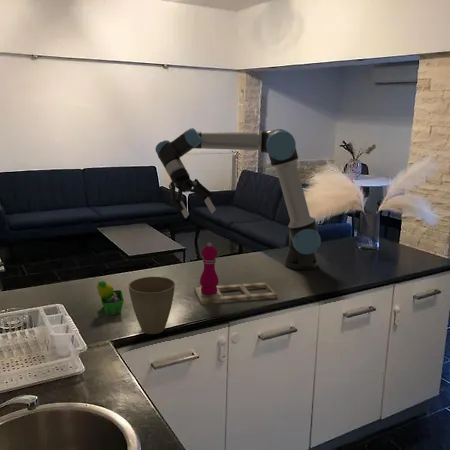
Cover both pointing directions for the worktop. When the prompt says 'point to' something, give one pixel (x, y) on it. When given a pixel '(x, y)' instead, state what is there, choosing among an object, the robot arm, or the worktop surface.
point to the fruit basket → (110, 298)
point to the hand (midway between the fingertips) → (200, 213)
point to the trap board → (242, 287)
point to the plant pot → (152, 302)
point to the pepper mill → (209, 270)
